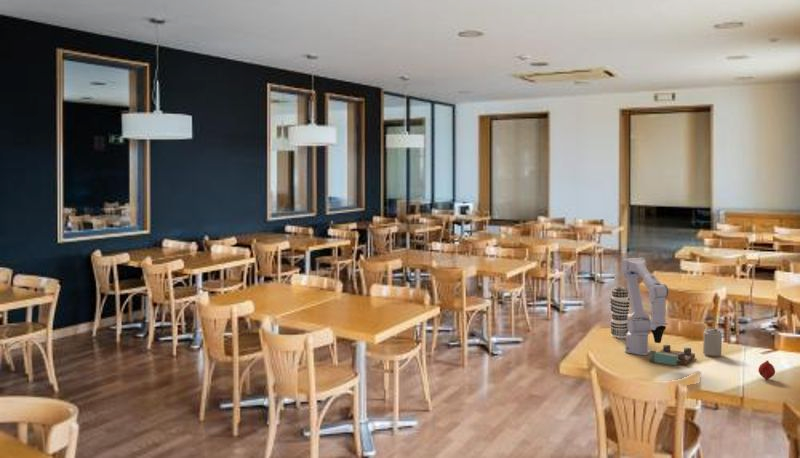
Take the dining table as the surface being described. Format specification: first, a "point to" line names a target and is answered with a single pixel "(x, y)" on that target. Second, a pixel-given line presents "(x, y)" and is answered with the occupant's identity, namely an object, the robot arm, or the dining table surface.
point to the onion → (766, 370)
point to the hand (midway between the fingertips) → (657, 342)
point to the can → (712, 342)
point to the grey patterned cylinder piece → (619, 312)
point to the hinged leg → (663, 358)
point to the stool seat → (679, 355)
